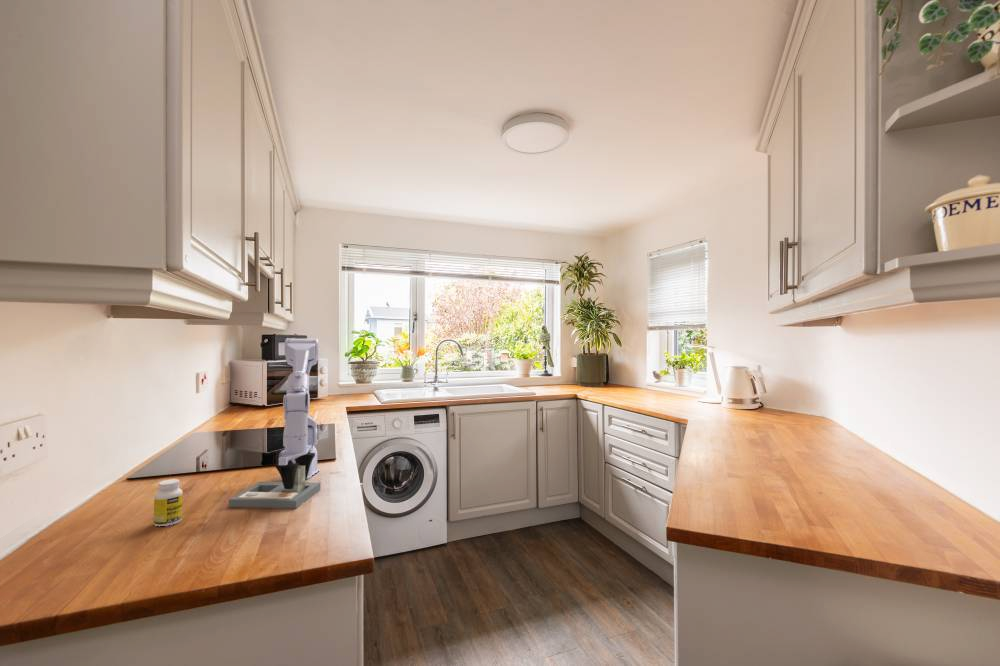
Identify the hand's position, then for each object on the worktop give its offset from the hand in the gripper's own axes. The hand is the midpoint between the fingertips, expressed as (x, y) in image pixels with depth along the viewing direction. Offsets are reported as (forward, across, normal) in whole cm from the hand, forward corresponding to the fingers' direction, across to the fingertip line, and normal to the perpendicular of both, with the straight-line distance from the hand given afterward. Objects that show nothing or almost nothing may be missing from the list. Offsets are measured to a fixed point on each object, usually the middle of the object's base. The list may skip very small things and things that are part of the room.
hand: (295, 483), depth 122 cm
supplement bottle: (+4, +18, -22) cm, 29 cm away
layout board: (+3, +2, -4) cm, 6 cm away
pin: (+3, 0, 0) cm, 3 cm away
